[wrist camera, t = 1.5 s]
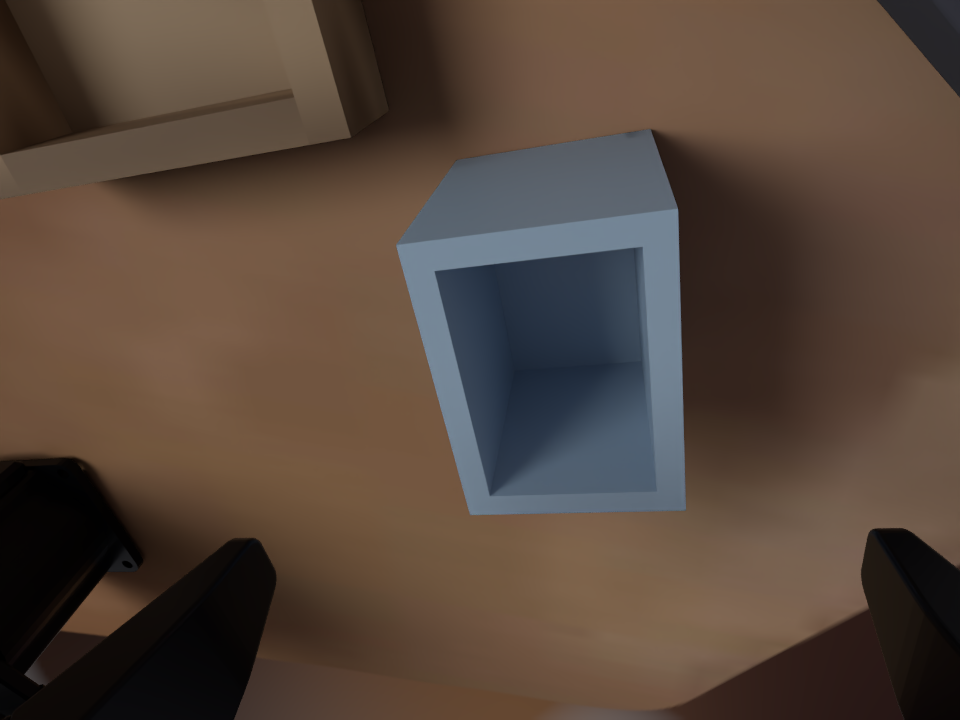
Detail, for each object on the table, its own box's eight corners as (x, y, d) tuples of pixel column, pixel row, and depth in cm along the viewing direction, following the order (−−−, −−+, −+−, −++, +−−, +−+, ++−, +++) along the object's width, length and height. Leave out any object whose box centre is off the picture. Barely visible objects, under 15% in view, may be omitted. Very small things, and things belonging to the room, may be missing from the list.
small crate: (661, 365, 19) (685, 510, 14) (501, 377, 20) (470, 514, 15) (650, 129, 15) (678, 208, 10) (456, 160, 16) (396, 244, 11)
